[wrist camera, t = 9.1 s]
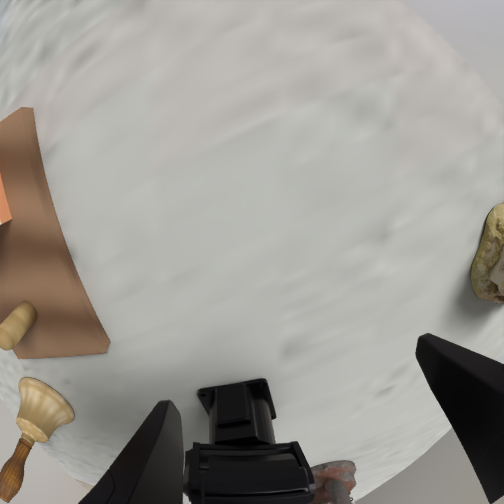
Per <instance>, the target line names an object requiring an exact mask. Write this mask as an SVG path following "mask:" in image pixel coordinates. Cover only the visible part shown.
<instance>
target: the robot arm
mask: <svg viewBox="0 0 504 504" xmlns="http://www.w3.org/2000/svg"><path fill="white" fill-rule="evenodd" d="M415 354H416V358H417V361H418V363H419V365H420V367H421V369H422V371H423V373H424V376H425V378H426V380H427V382H428V384H429V386H430V389H431V390H432V392H433V394H434V396H435V397H436V399H437V401H438V402H439V404H440V406H441V408H442V409H443V411H444V413H445V415H446V416H447V418H448V420H449V422H450V424H451V425H452V427H453V429H454V431H455V433H456V435H457V436H458V438H459V440H460V442H461V444H462V446H463V448H464V450H465V452H466V454H467V455H468V458H469V460H470V462H471V464H472V466H473V468H474V470H475V472H476V475H477V477H478V479H479V481H480V483H481V485H482V487H483V490H484V492H485V494H486V497H487V498H488V501H489V503H490V504H492V503H494V502H495V501H497V500H498V499H499V498H500V497H502V496H503V495H504V364H502V363H500V362H498V361H495V360H493V359H490V358H488V357H486V356H483V355H481V354H478V353H476V352H473V351H471V350H469V349H466V348H464V347H461V346H459V345H457V344H454V343H452V342H449V341H447V340H444V339H442V338H440V337H437V336H435V335H432V334H430V333H426V334H424V335H422V336H420V337H419V338H418V342H417V347H416V352H415ZM262 383H263V384H262ZM198 397H199V399H200V401H201V402H202V404H203V406H204V408H205V410H206V412H207V413H208V415H209V417H210V423H209V443H210V444H200V443H199V442H193V449H190V450H189V451H186V454H185V469H184V475H183V462H184V452H183V439H182V426H181V416H180V413H179V411H178V410H177V408H176V407H175V405H174V404H173V402H172V401H171V400H161V401H159V402H158V403H157V405H156V406H155V407H154V409H153V410H152V411H151V413H150V414H149V415H148V417H147V418H146V419H145V421H144V422H143V423H142V425H141V426H140V427H139V429H138V430H137V432H136V433H135V434H134V436H133V437H132V438H131V440H130V441H129V442H128V444H127V445H126V446H125V448H124V449H123V450H122V452H121V453H120V454H119V456H118V457H117V458H116V460H115V461H114V462H113V464H112V465H111V466H110V468H109V469H108V470H107V471H106V473H105V474H104V475H103V477H102V478H101V479H100V480H99V481H98V483H97V484H96V485H95V486H94V487H93V488H92V489H91V491H90V492H89V493H88V494H87V495H86V496H85V497H84V498H83V499H82V500H81V501H80V502H79V503H78V504H183V493H184V494H185V495H186V496H188V497H189V502H191V504H311V503H312V502H313V500H314V496H315V481H314V477H313V473H312V471H311V468H310V466H309V464H308V462H307V460H306V458H305V456H304V454H303V452H302V450H301V448H300V445H299V443H298V441H293V442H291V443H279V444H276V441H275V436H274V431H273V425H272V420H273V419H275V418H276V413H275V409H274V405H273V401H272V398H271V394H270V390H269V386H268V382H267V380H266V379H263V378H262V379H256V380H251V381H246V382H241V383H235V384H230V385H224V386H218V387H211V388H204V389H200V390H198Z"/></svg>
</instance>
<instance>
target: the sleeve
mask: <svg viewBox="0 0 504 504" xmlns="http://www.w3.org/2000/svg"><path fill="white" fill-rule="evenodd" d="M11 219H12V217H11V213H10V210H9V206H8V203H7V199H6V195H5V192H4V188H3V183H2V179H1V175H0V225H1V224H3V223H5V222H7V221H9V220H11Z"/></svg>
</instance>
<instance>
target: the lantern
mask: <svg viewBox="0 0 504 504" xmlns="http://www.w3.org/2000/svg"><path fill="white" fill-rule="evenodd" d="M311 471H312V473H313V477H314V481H315V496H314V500H313V502H312V503H311V504H352V503H351V501H352V500H353V498H352V497H349V495H350V494H351V493H350V491H351V490H352V489H353V488H354V487H355V486H356V481H355V478H354V473H355V471H356V467H355V464H354V463H353V462H351V461H346V460H344V461H334V462H329V463H325V464H321V465H318V466H315V467H312V468H311ZM350 498H351V499H352V500H350ZM353 503H354V501H353ZM354 504H355V503H354Z"/></svg>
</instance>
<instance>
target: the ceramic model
mask: <svg viewBox="0 0 504 504" xmlns="http://www.w3.org/2000/svg"><path fill="white" fill-rule="evenodd" d="M483 234H484V235H483V236H482V240H481V243H480V246H479V248H478V251H477V253H476V256H475V258H474V261H473V264H472V269H471V282H472V285H473V289H474V292H475V294H476V295H477V296H478V298H481V299H484V300H487V301H490V302H495V303H500V304H503V303H504V203H502V204H499V205H497V206H495V207H494V208H493V209H492V211H491V212H490V213H489V215H488V217H487V220H486V225H485V230H484V233H483Z"/></svg>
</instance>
